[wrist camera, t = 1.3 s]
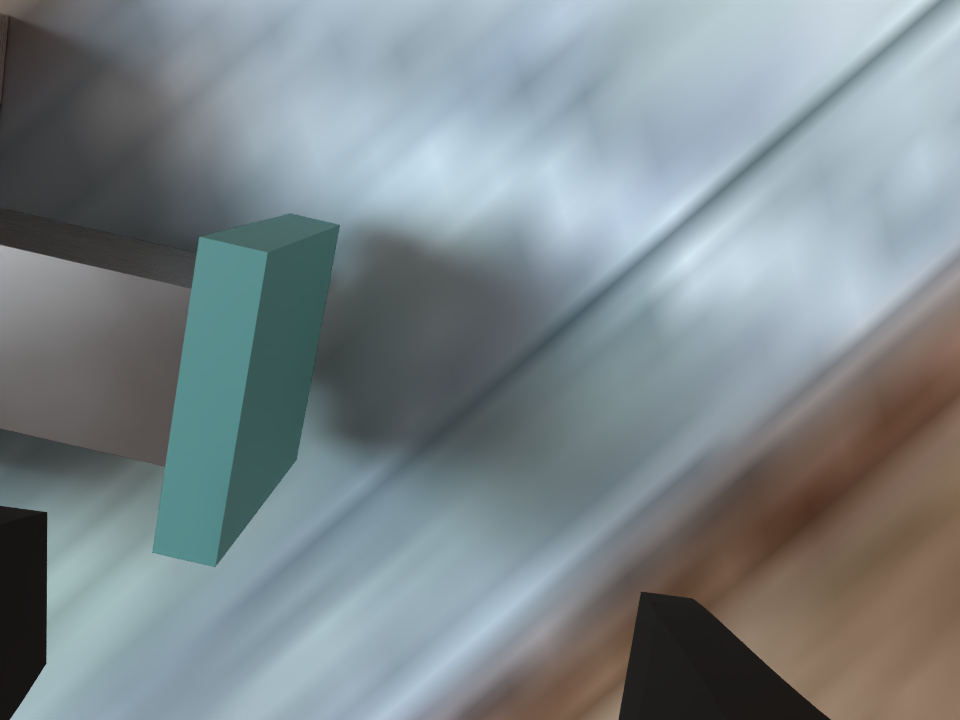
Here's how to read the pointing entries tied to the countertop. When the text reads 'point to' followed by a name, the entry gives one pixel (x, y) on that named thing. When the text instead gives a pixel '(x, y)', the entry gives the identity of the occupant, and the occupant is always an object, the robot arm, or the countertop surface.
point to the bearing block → (2, 46)
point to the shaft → (168, 358)
